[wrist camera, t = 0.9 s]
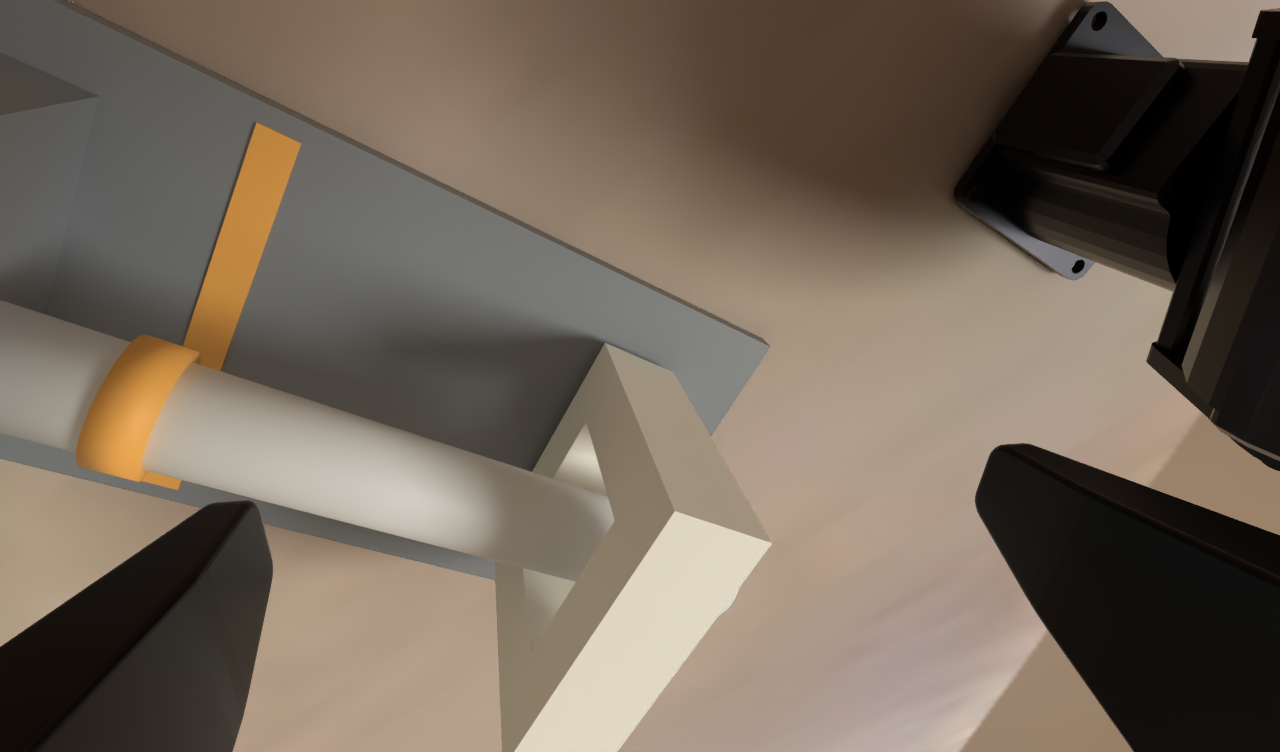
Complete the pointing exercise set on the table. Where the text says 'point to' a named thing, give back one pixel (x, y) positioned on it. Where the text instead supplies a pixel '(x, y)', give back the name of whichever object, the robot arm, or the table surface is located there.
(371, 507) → the pipe mount
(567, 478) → the collar ring
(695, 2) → the table surface
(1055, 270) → the robot arm
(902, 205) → the table surface
